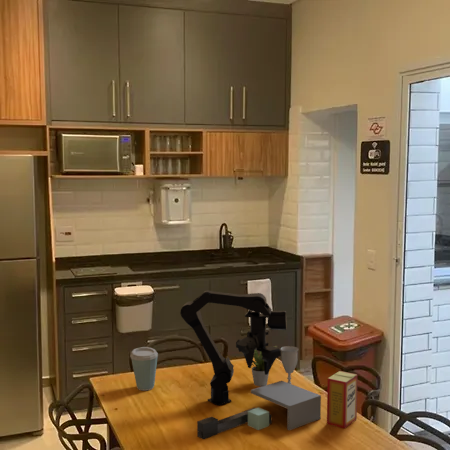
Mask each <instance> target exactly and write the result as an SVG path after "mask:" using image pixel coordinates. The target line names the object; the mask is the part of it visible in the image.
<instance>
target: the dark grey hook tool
mask: <svg viewBox="0 0 450 450" xmlns="http://www.w3.org/2000/svg"><path fill="white" fill-rule="evenodd" d="M255 408H256V407H252V408H249V409H246V410H244V411H242V412H238V413H235V414H232V415H229V416H227V417H224V418H221V419H219V418H217V417H214V416H209V417H205V418H203V419H200V420H197V422H196V423H197V429H196V430H197V431H196V433H197V435H196V437H198V438H199V439H201V440H206V439H208V438H212V437H213V436H216V435H219V434H221V433H224V432H226V431H228V430H229V431H230V430H231V429H233V428H236V427H239V426H242V425H245V424H248V411H250V410H252V409H255ZM272 415H273V414H270V413H269V425H272V423H273V421H272V420H273V416H272ZM218 419H219V420H218Z"/></svg>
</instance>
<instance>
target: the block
mask: <svg viewBox="0 0 450 450" xmlns="http://www.w3.org/2000/svg"><path fill="white" fill-rule="evenodd" d="M254 408H255V409H252V408H251V409H252V410H250V411H248V423H247V426H248V427H250V428H252V429H254V430H257V431H261V430H263V429H265V428H267V427H270V424H269V414H270V411H268V410H266V409H264V408H261V407H259V406H258V407H254Z"/></svg>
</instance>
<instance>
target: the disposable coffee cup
mask: <svg viewBox="0 0 450 450" xmlns="http://www.w3.org/2000/svg"><path fill="white" fill-rule="evenodd" d="M129 357H130V359H131V362H132V363H131V364H132V368H133V369H132V370H133V373H134V374H133V375H134V380H135V384H136V389H137V390H139V391H144V392H145V391H150V390H153V388H154V387H155V383H156V382H155V381H156V375H157V374H156V372H157V364H158V357H159V353H158V352H157V350H156V349H155V348H152V347H150V346H149V347H148V346H142V347H137V348H134V349H132V351H131V353H130V356H129Z"/></svg>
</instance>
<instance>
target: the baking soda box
mask: <svg viewBox="0 0 450 450" xmlns="http://www.w3.org/2000/svg"><path fill="white" fill-rule="evenodd" d="M358 375H359V374H358V373H357V374H356V373H352V372H347V371H342V370H339V371H338V372H336V373H334V374H333V375H331V376H329V377H327V391H326V393H327V394H326V395H327V397H326V424H327V425H329V426H330V425H331V426H335V427H338V428H342V429H346V428H347V427H348V426H350V425H351V424H352V423H354V422H355V421H356V420H357V416H358V415H357V413H358V412H357V411H358Z"/></svg>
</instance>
